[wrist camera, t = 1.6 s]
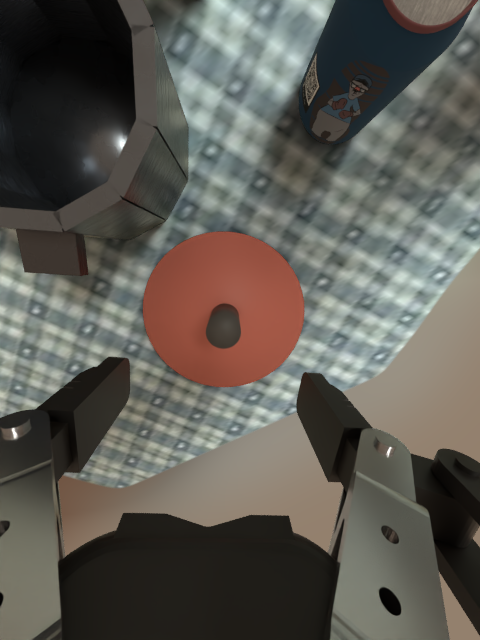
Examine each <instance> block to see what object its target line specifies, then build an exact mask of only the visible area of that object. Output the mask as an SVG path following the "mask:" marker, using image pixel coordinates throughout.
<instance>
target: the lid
mask: <svg viewBox="0 0 480 640" xmlns="http://www.w3.org/2000/svg"><path fill="white" fill-rule="evenodd" d="M143 317H144V324H145V328H146V331H147V334H148V337H149V339H150V342H151V343H152V345H153V347H154V349H155V350H156V352H157V353H158V354H159V356H160V357H161V358H162V359H163V360H164V362H165V363H166V364H167V365H168V366H170V367H171V368H172V369H173V370H175V371H176V372H177V373H179V374H181V375H182V376H184V377H186V378H188V379H190V380H192V381H195V382H197V383H200V384H204V385H209V386H216V387H233V386H240V385H244V384H248V383H251V382H254V381H257V380H259V379H261V378H263V377H265V376H267V375H268V374H270V373H271V372H273V371H274V370H275V369H276V368H278V367H279V366H280V365H281V364H282V363H283V362H284V361H285V360H286V358H287V357H288V356H289V355H290V353H291V352H292V350H293V349H294V347H295V345H296V343H297V341H298V339H299V336H300V333H301V330H302V326H303V321H304V300H303V294H302V290H301V287H300V284H299V281H298V279H297V277H296V275H295V273H294V271H293V270H292V268H291V267H290V265H289V264H288V262H287V261H286V260H285V259H284V258H283V257H282V256H281V255H280V254H279V253H278V252H277V251H276V250H275V249H273V248H272V247H271V246H269V245H267V244H266V243H264V242H263V241H260V240H258V239H256V238H254V237H251V236H248V235H245V234H241V233H235V232H211V233H205V234H201V235H197V236H194V237H192V238H190V239H187V240H185V241H183V242H182V243H180V244H178V245H177V246H175V247H174V248H173V249H172V250H170V251H169V252H168V253H167V254H166V255H165V256H164V257H163V258H162V259H161V260H160V261H159V263H158V264H157V266H156V267H155V269H154V270H153V272H152V274H151V276H150V278H149V280H148V283H147V286H146V289H145V293H144V300H143Z"/></svg>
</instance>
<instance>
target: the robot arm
mask: <svg viewBox="0 0 480 640" xmlns="http://www.w3.org/2000/svg"><path fill="white" fill-rule="evenodd" d="M129 394H130V364H129V359H128V358H119V357H108V358H107V359H105V360H104V361H103V362H102V363H101V364H100V365H98V366H97V367H92V368H90V369H88V370H86V371H84V372H81V373H80V374H79V375H77V376H76V377H75V378H74V379H72V381H71V382H69V383H67V384H66V385H65V386H64V388H61V389H60V390H59V391H58V392H56V393H55V394H54V395H53V396H51V397H50V398H49V399H48V400H46V401H45V402H44V403H43V404H41V405H40V406H39V407H38V408H37V409H35V410H25V411H20V412H16V413H13V414H10V415H7V416H5V417H2V418H0V640H449V633H448V626H447V620H446V614H445V608H444V602H443V596H442V589H441V583H440V577H439V572H440V574H441V575H442V577H443V578H444V580H445V581H446V583H447V585H448V586H449V588H450V589H451V591H452V593H453V594H454V596H455V597H456V599H457V600H458V602H459V604H460V605H461V607H462V608H463V610H464V611H465V613H466V615H467V616H468V618H469V619H470V621H471V622H472V624H473V626H474V627H475V629H476V630H477V632H478V634H479V635H480V547H479V546H478V545H477V543H476V542H475V541H474V540H473V537H474V535H475V533H476V531H477V530H478V528H479V526H480V463H479V462H477V461H476V460H474V459H472V458H471V457H469V456H467V455H464V454H462V453H460V452H457V451H454V450H450V449H440V450H438V451H437V454H436V456H435V458H434V460H431V459H428V458H424V457H421V456H417V455H414V454H411V453H410V452H409V450H408V449H407V447H406V446H405V445H404V444H403V443H402V442H401V441H399V440H398V439H397V438H395V437H394V436H392V435H390V434H388V433H386V432H384V431H381V430H378V429H374V428H372V427H371V426H370V424H369V423H368V422H367V421H366V420H365V418H364V417H363V416H362V415H361V414H360V413H359V411H358V410H357V409H356V408H354V406H353V404H352V403H351V402H350V401H348V399H347V397H346V396H345V395H344V394H343V393H342V392H341V391H340V390H339V389H337V388H336V387H334V386H333V385H330V384H329V383H328V381H327V380H326V379H325V378H324V376H323V375H322V374H320V373H307V372H305V373H304V374H303V376H302V379H301V384H300V388H299V393H298V398H297V413H298V416H299V418H300V420H301V423H302V424H303V427H304V429H305V431H306V433H307V436H308V438H309V440H310V442H311V445H312V447H313V449H314V451H315V454H316V456H317V458H318V460H319V462H320V465H321V467H322V469H323V471H324V473H325V476H326V478H327V480H328V482H341V483H342V485H343V487H344V488H343V491H342V494H341V498H340V502H339V507H338V512H337V516H336V520H335V525H334V529H333V534H332V538H331V542H330V546H329V550H328V553H327V552H326V551H324V550H323V549H322V548H321V547H319V546H318V545H316V544H315V543H314V542H312V541H310V540H308V539H307V538H305V537H303V536H301V535H299V534H296V533H293V531H292V527H291V523H290V519H289V516H271V515H270V516H268V515H267V516H266V515H249V516H246V517H242V518H239V519H235V520H232V521H229V522H225V523H222V524H218V525H215V526H211V527H205V526H202V525H199V524H196V523H192V522H189V521H187V520H183V519H181V518H177V517H174V516H171V515H168V514H152V513H151V514H150V513H123V515H122V518H121V520H120V523H119V525H118V528H117V530H116V531H112V532H109V533H107V534H104V535H102V536H99V537H97V538H95V539H93V540H91V541H89V542H87V543H85V544H84V545H82V546H80V547H79V548H77V549H76V550H74V551H73V552H71V553H70V554H69V555H67V556H66V557H65V550H64V540H63V529H62V518H61V506H60V495H59V485H58V481H59V479H60V478H61V477H62V475H63V474H64V473H65V472H73V473H80V472H81V470H82V469H83V467H84V466H85V464H86V463H87V461H88V460H89V458H90V457H91V455H92V454H93V452H94V451H95V449H96V448H97V446H98V445H99V443H100V442H101V440H102V439H103V437H104V436H105V434H106V433H107V431H108V430H109V428H110V427H111V425H112V424H113V422H114V421H115V420H116V418H117V417H118V415H119V414H120V412H121V411H122V409H123V408H124V406H125V405H126V403H127V401H128V398H129ZM438 570H439V571H438Z"/></svg>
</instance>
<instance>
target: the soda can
mask: <svg viewBox="0 0 480 640" xmlns="http://www.w3.org/2000/svg"><path fill="white" fill-rule="evenodd" d="M477 1H478V0H336V1H335V3H334V6H333V8H332V11H331V13H330V15H329V18H328V20H327V22H326V25H325V27H324V30H323V32H322V34H321V37H320V39H319V42H318V44H317V46H316V49H315V51H314V54H313V56H312V58H311V61H310V63H309V65H308V68H307V70H306V73H305V75H304V77H303V80H302V83H301V87H300V91H299V112H300V116H301V120H302V122H303V125H304V127H305V128H306V130H307V131H308V133H309V134H310V135H311V136H312V137H313V138H314V139H316V140H318V141H320V142H322V143H325V144H339V143H342V142H345V141H347V140H349V139H351V138H352V137H354V136H355V135H356V134H357V133H358V132H359V131H360V130H361V129H362V128H364V127H365V126H366V125H367V124H368V123H369V122H370V121H371V120H372V119H373V118H374V117H375V116H376V115H377V114H378V113H379V112H380V111H382V110H383V109H384V108H385V107H386V106H387V105H388V104H389V103H390V102H391V101H392V100H393V99H394V98H395V97H396V96H397V95H398V94H400V93H401V92H402V91H403V90H404V89H405V88H406V87H407V86H408V85H409V84H410V83H411V82H412V81H413V80H414V79H415V78H416V77H418V76H419V75H420V74H421V73H422V72H423V71H424V70H425V69H426V68H427V67H428V66H429V65H430V64H431V63H432V62H433V61H434V60H436V59H437V58H438V57H439V56H440V55H441V54H442V53H443V52H444V51H445V50H446V49H447V48H448V47H449V45H450V44H451V43H452V42H453V40H454V39H455V38H456V36H457V35H458V33H459V32H460V30H461V29H462V27H463V25H464V23H465V21H466V19H467V18H468V16H469V14H470V12H471V10H472V8H473V6H474V5H475V4H476V3H477Z"/></svg>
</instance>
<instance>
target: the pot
mask: <svg viewBox="0 0 480 640" xmlns="http://www.w3.org/2000/svg"><path fill="white" fill-rule="evenodd" d="M187 179H188V124H187V121H186V118H185V115H184V112H183V109H182V106H181V103H180V100H179V97H178V94H177V92H176V89H175V86H174V83H173V80H172V77H171V74H170V71H169V68H168V65H167V62H166V59H165V56H164V53H163V50H162V47H161V44H160V41H159V38H158V35H157V32H156V29H155V26H154V23H153V21H152V19H151V17H150V14H149V12H148V10H147V8H146V5H145V3H144V1H143V0H0V227H1V228H10V229H16V231H17V236H18V241H19V246H20V251H21V256H22V261H23V266H24V271H25V272H30V273H45V274H60V275H75V276H83V275H88V267H87V259H86V250H85V242H84V237H95V238H108V239H121V240H131V239H133V238H135V237H137V236H139V235H140V234H142V233H144V232H146V231H148V230H150V229H152V228H153V227H155V226H157V225H159V224H161V223H163V222H164V221H166V220H167V219H168V217H169V215H170V213H171V211H172V209H173V207H174V206H175V204H176V202H177V200H178V198H179V196H180V195H181V193H182V191H183V189H184V187H185V185H186V184H187V182H188V181H187ZM165 219H166V220H165Z"/></svg>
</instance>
